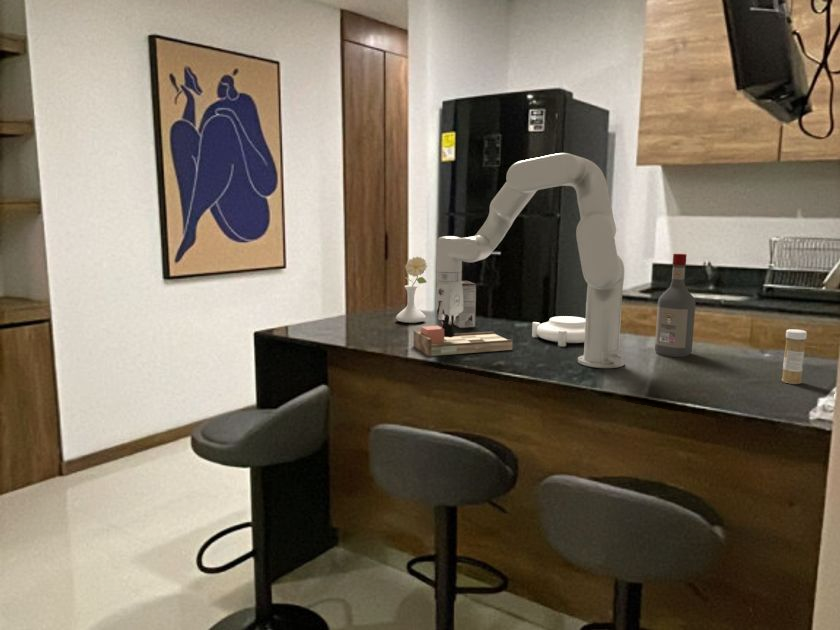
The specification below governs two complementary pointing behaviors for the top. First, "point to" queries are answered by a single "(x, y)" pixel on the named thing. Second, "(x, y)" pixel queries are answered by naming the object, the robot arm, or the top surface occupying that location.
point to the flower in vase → (413, 292)
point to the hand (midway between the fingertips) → (448, 336)
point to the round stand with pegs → (561, 330)
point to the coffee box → (467, 306)
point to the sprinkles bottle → (794, 356)
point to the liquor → (675, 315)
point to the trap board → (462, 343)
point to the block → (434, 333)
